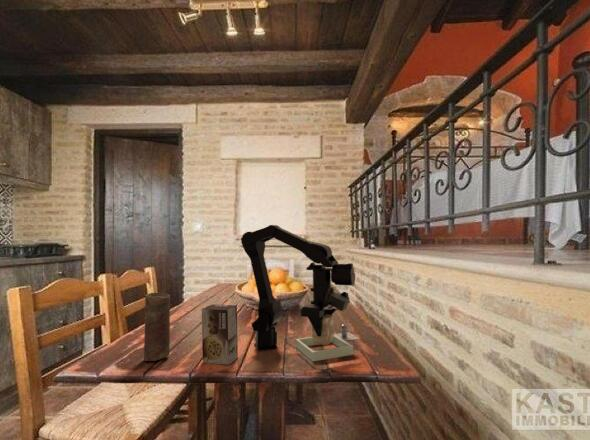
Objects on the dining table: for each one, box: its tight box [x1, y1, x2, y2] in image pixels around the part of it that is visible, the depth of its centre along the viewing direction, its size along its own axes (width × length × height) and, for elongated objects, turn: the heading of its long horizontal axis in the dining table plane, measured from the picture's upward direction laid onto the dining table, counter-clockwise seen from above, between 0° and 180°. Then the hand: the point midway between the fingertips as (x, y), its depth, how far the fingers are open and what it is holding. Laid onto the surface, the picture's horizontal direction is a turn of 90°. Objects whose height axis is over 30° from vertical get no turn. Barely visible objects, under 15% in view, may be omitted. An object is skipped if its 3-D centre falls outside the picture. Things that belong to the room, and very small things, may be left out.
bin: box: [295, 335, 354, 366], centre depth 106 cm, size 14×14×4 cm
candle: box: [143, 292, 171, 362], centre depth 105 cm, size 8×7×20 cm
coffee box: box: [201, 304, 239, 365], centre depth 103 cm, size 9×6×16 cm
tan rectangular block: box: [311, 314, 335, 346], centre depth 106 cm, size 5×5×8 cm
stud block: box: [334, 323, 360, 342], centre depth 120 cm, size 8×8×5 cm
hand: (322, 333), depth 106 cm, fingers closed on tan rectangular block, 5 cm apart
